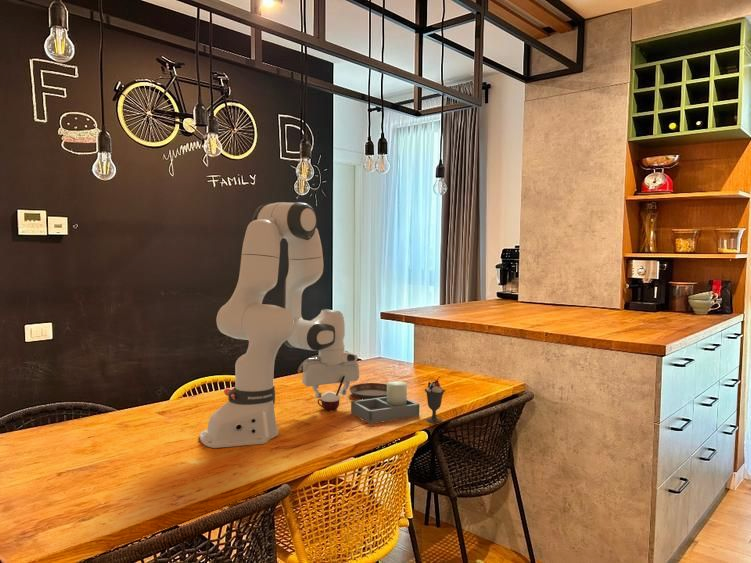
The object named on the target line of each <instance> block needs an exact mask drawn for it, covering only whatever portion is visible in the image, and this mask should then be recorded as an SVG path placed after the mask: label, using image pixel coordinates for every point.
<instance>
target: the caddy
mask: <svg viewBox="0 0 751 563" xmlns="http://www.w3.org/2000/svg"><path fill="white" fill-rule="evenodd" d="M386 384H387V397H381V398H373V399H366V400H361V399H358V400H352V401H350V414H352V415H353V414H354V415H353V416H355V415H356V417H357V418H359V419H360V418H361V420H362V419H363V420H362V421H364V422H365V421H366V422H365V423H367V422H368V423H367V424H369V425H371V424H370V423H372V424H377V423H376V422H378V423H383V422H382V421H384V422H390V420H391V421H397V420H402V419H408V418H414V417H420V403H418V402H415V401H413V400H411V399H409V398H407V394H408V383H407V382H404V381H397V380H395V381H388V382H386ZM396 419H397V420H396Z"/></svg>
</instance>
